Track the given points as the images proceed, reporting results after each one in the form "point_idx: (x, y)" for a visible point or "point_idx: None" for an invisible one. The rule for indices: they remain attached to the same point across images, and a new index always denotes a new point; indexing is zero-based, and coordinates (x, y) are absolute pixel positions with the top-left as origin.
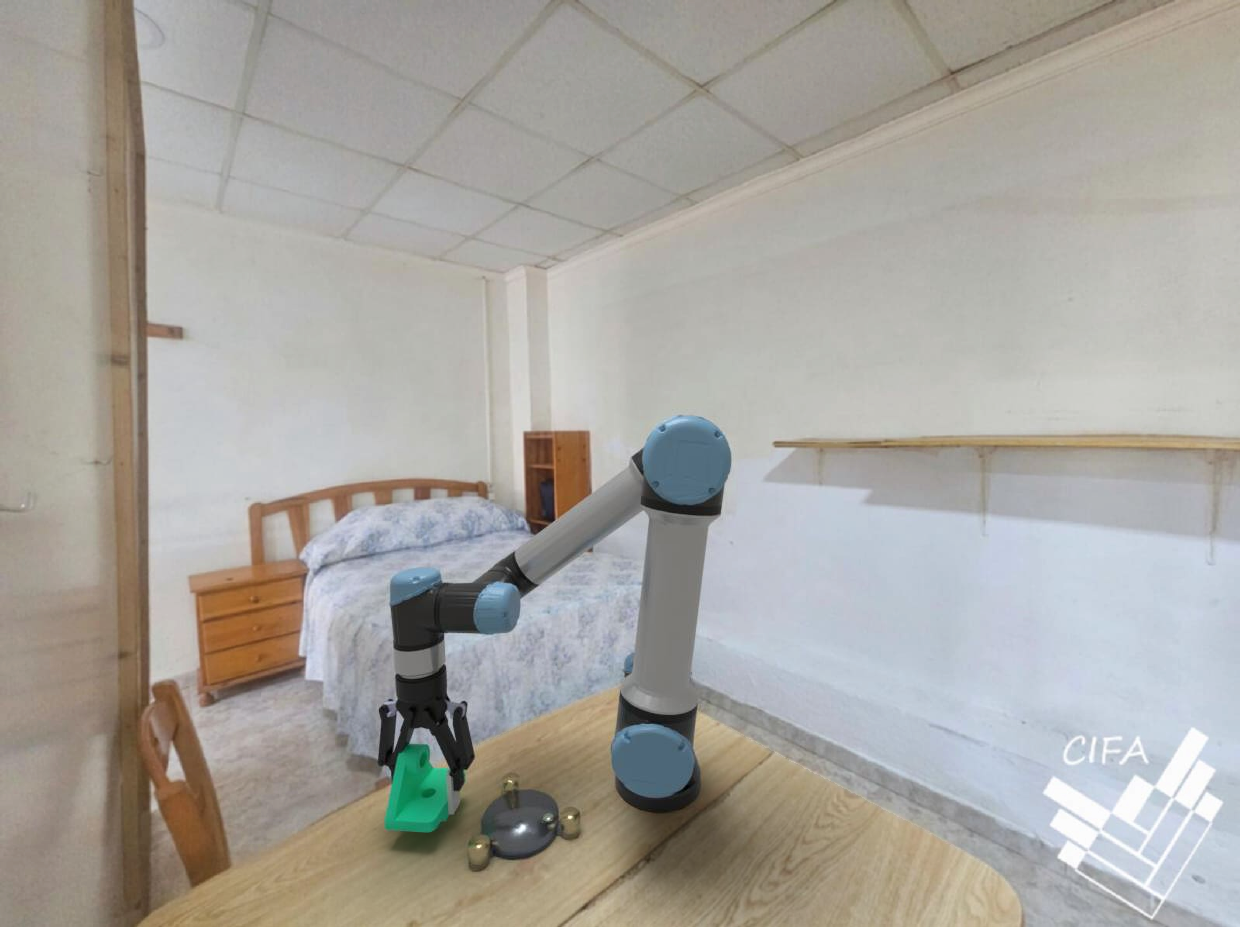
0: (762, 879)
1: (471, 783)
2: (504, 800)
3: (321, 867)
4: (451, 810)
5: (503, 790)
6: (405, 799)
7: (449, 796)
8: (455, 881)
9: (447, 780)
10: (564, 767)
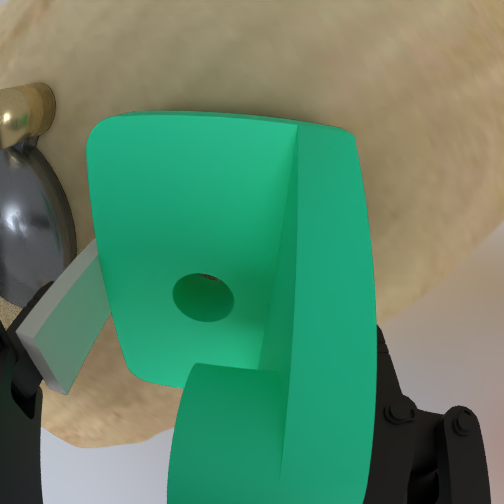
0: None
1: None
2: (40, 282)
3: (481, 87)
4: None
5: None
6: (282, 250)
7: (81, 262)
8: (66, 43)
9: (46, 313)
10: None
